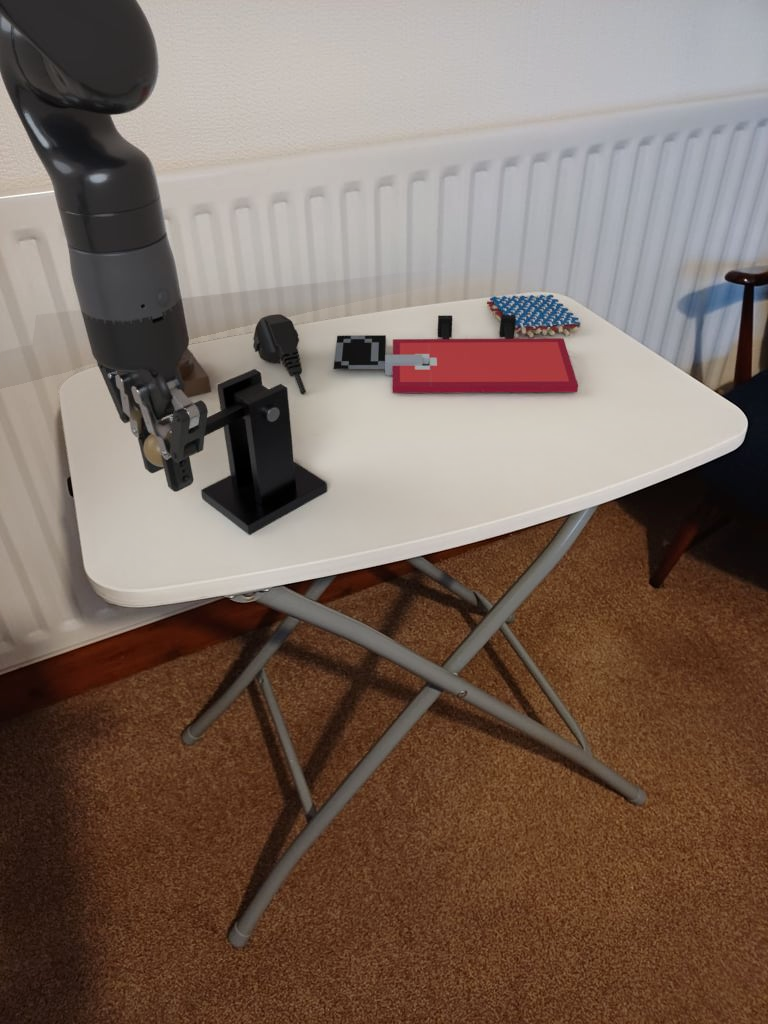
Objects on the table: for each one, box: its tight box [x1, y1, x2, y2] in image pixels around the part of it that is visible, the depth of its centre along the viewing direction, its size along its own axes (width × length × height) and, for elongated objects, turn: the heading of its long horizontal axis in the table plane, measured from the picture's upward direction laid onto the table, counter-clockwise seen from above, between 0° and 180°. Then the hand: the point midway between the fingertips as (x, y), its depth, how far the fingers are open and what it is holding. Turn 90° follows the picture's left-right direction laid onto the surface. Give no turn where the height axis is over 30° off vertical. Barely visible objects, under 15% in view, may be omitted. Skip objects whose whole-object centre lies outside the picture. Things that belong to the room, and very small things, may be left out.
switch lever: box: [143, 382, 269, 467], centre depth 71 cm, size 13×3×3 cm, turn 134°
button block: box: [177, 347, 212, 398], centre depth 97 cm, size 8×8×4 cm
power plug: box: [252, 313, 307, 395], centre depth 100 cm, size 6×8×12 cm
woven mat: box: [486, 294, 581, 339], centre depth 111 cm, size 10×11×2 cm
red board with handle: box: [333, 314, 579, 394], centre depth 101 cm, size 30×3×15 cm
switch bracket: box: [200, 368, 328, 536], centre depth 77 cm, size 10×8×13 cm
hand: (169, 476), depth 71 cm, fingers closed on switch lever, 3 cm apart
